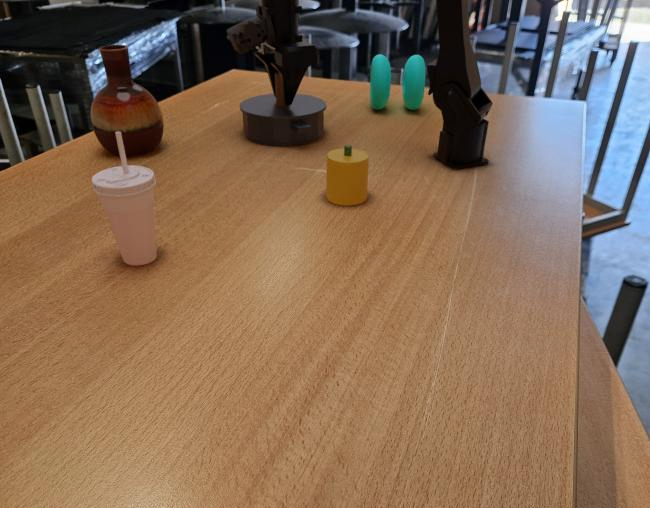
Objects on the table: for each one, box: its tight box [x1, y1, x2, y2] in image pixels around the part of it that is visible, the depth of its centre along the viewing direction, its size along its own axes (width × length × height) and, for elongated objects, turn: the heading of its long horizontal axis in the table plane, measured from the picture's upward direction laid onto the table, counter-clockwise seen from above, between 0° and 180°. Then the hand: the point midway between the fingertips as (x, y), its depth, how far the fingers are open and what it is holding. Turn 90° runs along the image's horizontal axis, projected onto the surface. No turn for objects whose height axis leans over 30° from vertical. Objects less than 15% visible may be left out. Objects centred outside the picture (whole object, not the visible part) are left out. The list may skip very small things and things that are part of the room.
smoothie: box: [91, 132, 158, 267], centre depth 61 cm, size 6×6×14 cm
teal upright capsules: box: [369, 53, 426, 111], centre depth 112 cm, size 10×10×10 cm
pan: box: [241, 111, 325, 147], centre depth 101 cm, size 14×19×4 cm
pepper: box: [325, 144, 370, 207], centre depth 77 cm, size 6×6×7 cm
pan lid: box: [239, 72, 327, 120], centre depth 98 cm, size 15×15×6 cm
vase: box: [89, 44, 164, 157], centre depth 90 cm, size 11×11×15 cm
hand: (283, 101), depth 99 cm, fingers open, 5 cm apart
